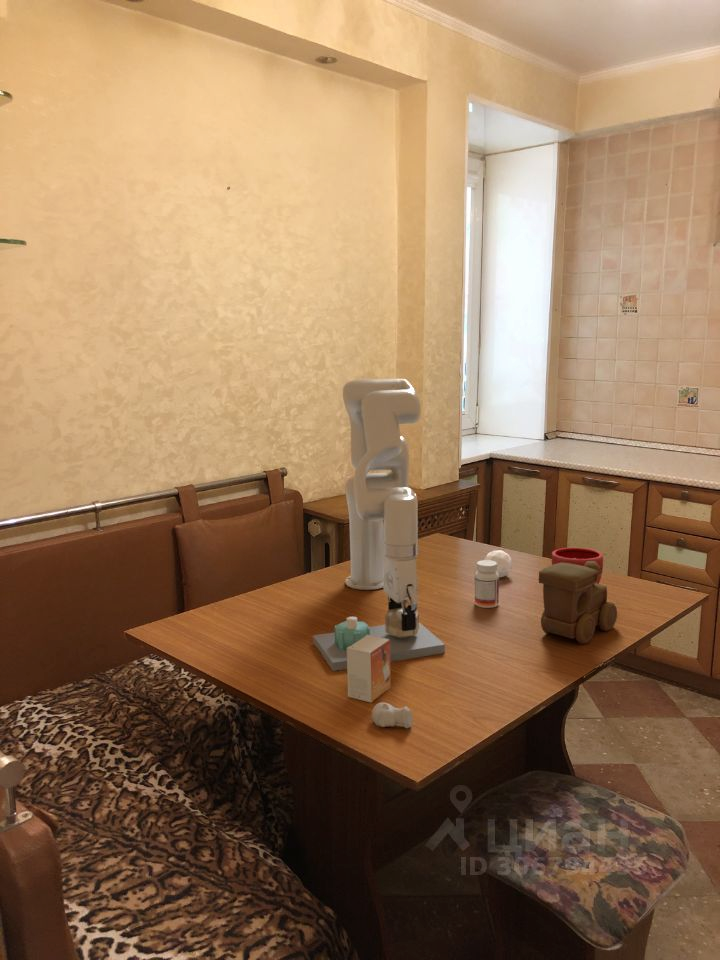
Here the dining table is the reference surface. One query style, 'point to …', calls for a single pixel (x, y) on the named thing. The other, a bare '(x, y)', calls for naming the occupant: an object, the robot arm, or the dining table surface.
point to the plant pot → (578, 557)
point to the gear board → (353, 631)
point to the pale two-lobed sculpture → (391, 715)
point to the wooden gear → (398, 624)
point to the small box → (368, 668)
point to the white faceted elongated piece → (500, 562)
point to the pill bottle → (486, 584)
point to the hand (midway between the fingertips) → (401, 623)
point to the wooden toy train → (575, 601)
